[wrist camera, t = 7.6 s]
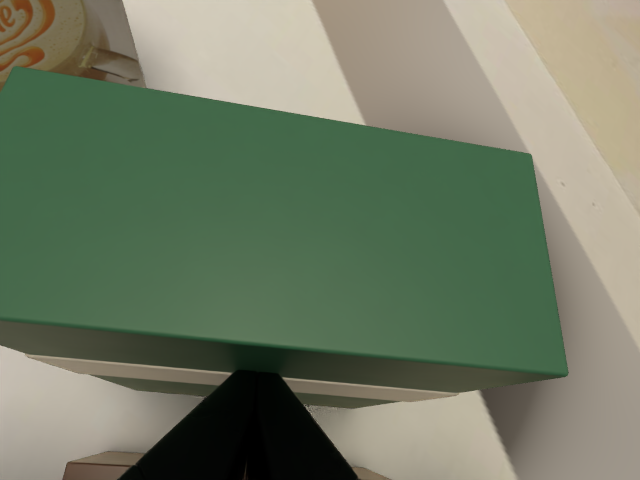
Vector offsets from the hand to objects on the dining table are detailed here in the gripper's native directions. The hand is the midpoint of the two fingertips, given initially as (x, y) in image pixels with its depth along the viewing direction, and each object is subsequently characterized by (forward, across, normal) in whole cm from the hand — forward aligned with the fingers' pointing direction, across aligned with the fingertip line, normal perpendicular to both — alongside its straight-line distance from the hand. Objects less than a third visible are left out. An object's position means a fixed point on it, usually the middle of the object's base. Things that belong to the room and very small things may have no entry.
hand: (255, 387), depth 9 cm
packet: (+8, 0, -5) cm, 10 cm away
